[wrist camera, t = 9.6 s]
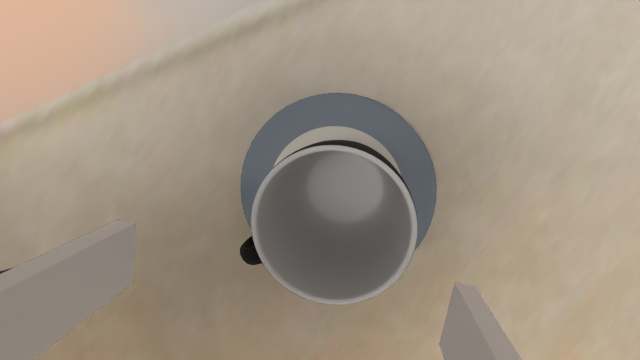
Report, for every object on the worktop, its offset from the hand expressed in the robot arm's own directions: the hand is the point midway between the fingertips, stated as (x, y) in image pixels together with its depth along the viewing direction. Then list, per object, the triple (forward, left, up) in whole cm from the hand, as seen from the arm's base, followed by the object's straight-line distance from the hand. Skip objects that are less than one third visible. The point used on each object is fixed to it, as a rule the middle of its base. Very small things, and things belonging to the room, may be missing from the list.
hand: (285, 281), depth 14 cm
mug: (0, 0, -15) cm, 15 cm away
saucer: (0, 0, -16) cm, 16 cm away
